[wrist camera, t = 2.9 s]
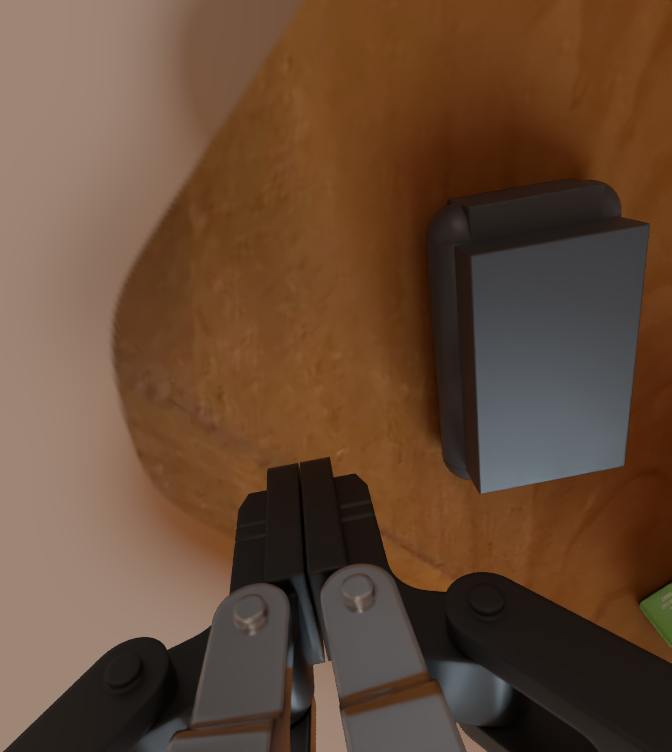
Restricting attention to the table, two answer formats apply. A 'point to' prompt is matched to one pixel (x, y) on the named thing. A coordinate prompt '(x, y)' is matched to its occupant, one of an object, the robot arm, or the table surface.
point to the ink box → (660, 612)
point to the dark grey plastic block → (535, 330)
